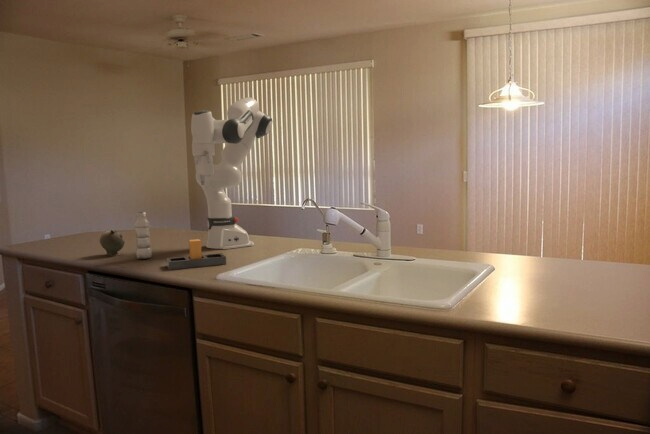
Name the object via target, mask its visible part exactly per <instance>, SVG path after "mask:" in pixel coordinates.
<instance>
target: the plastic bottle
mask: <svg viewBox="0 0 650 434" xmlns="http://www.w3.org/2000/svg"><path fill="white" fill-rule="evenodd" d="M136 217H137V219H136V220H135V222H134V225H133V226H134V230H135V236H136V250H135V254H136V257H137V259H140V260H146V259H149V258H150V259H151V257H152V256H153V251H152V247H151V240H150V235H151V234H150V231H151V223H150V221H149V220H148V218H147V212H146V211H137V212H136Z"/></svg>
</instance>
